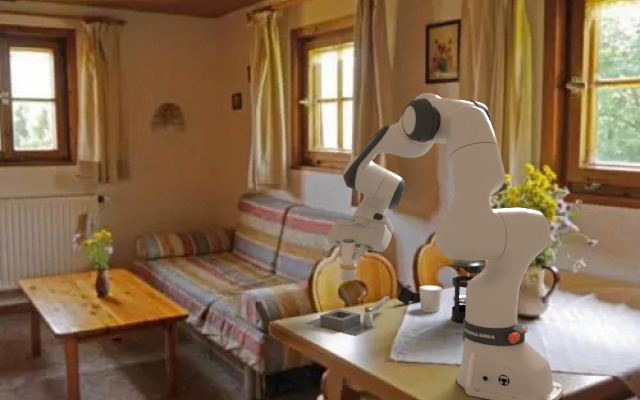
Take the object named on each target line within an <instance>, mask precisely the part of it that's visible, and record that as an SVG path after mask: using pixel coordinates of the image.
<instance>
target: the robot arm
mask: <svg viewBox="0 0 640 400" xmlns="http://www.w3.org/2000/svg"><path fill="white" fill-rule="evenodd" d="M434 144H443V145H447V148H448V149H447V150H448V156H449V160H450V165H451V170H452V175H453V176H452V177H453V183H454V195H453V201H452V203H451V204H450V207H449V208H448V211H447V212H446V213H445V214H443V216H442V217H441V218H440V220H439V221H438V222H437V225H436V229H435V234H434V235H435V236H434V237H435V243H436V245H437V247H438V250H439V251H440V253H441V254H442V255H443V256H444V257H445V258H447V259H450V260H454V261H458V260H463V261H487V262H486V264H485V265H484V266H485V267H483V271H482V272H480V273H477V275H475V276H473V277H474V278H472V279H471V280H470V281H469V283H468V285H467V288H466V289H465V295H466V304H465V305H466V315H465V318H464V321H463V324H462V339H463V349H462V358H461V363H460V367H459V371H458V374H457V377H456V382H457V384H458V385H459V386H461V388H463V389H464V392H465V394H466V395H468V396H470V397H475V398H481V399H486V400H560V399H561V398H562V396H563V395H564V387H563V386H562V384H561V383H559V382H556V381H554V380H553V374H552V367H551V365H550V363H549V361H548V360H547V359H546V358H545V357H544V356H542V354H540V353H539V352H538V351H537V350H536V349H535V348H534V347H533V346H531V345H530V344H529V343H528V341H526V338H525V337H526V334H527V333H528V332H529V330H528V329H529V327H528V326H525V327H524V328H523V327H522V326H521V324H520V322H519V321H518V305H519V296H520V295H519V294H520V289H521V284H522V281H523V278H524V275H525V274H526V272H527V270H528V269H529V267H530V266H531V263H533V261H534V260H535V259H536V258H537V256H538V255H540V254H541V253H542V252H543V251H544V250H545V249H546V248H547V246H548V245H549V242H550V237H551V228H550V225H549V221H548V220H547V218H546V216H545V215H544V214H543V213H542V212H541V211H539V210H536V209H535V210H534V209H530V208H526V207H525V208H523V207H504V208H502V207H501V208H492V207H491V204H490V203H491V202H490V197H491V196H493V195H494V194H495V193H496V192H498V191H499V190H500V189H501V188H502V187H503V185H504V183H505V180H506V172H505V167H504V164H503V159H502V155H501V151H500V148H499V143H498V140H497V137H496V133H495V131H494V128H493V126H492V116H491V113H490V111H489V108H488V107H487V106H486V104H484V103H481V102H479V101H475V100H465V99H463V100H462V99H456V98H455V99H454V98H453V99H452V98H449V97H440V96H439V95H438V94H435V93H431V92H424V93H421V94H419V95H417V96H416V97H415V98H414V99H413V100H410V101H409V102H408V103H407V105H406V106H405V107H404V110H403V113H402V115H401V117H400V118H399V121H398V122H396V123H394V124H391V125H384V126H382V127H380V129H379V130H378V131H377V132H376V133H374V135H373V136H372V137H371V139H370V140H369V141H367V143H366V145H364V147H363V148H362V149H361V150H360V151H359V153H357V155H355V157H354V158H352V159H351V160H350V161H349V162H348V164H347V165H346V167H345V168H344V171H343V175H342V176H343V177H342V178H343V180H344V184H345V185H346V187H347V188H350V189H352V190H354V191H357V192H359V193H360V194H363V199H362V201H361V202H360V203H359V204H358V206H357V207H356V209H355V211H354V213H353V215H352V216H351V218H349V217H342V218H340V219H338V220H337V221H336V222H335V223H334V224H333V226H332V227H331V228H330V229H329V232H328V233H327V234H326V238H327V241H328V242H329V243H330V245H334V246H338V252H337V254H336V255H337V257H338V258H341V259H342V241H343V240H344V239H354V241H355V249H358V250H357V251H355V252H354V253H353V255H352V258H353V260H356V261H357V262H358V261H359V260H360V258H361V257H362V256H363V255H365V254H366V253H367V252H368V251H372V252H373V251H374V252H380V253H382V252H384V251H385V250H387V248H388V247H389V244H390V242H391V239H392V237H393V236H392V234H393V233H394V231H395V227H394V225H393V224H392V222H391V220H390V219H389V218H388V217H387V212H388V211H389V210H392V209H395V208H396V207H398V205H399V203H400V201H401V198H402V196H403V195H404V194H405V192H406V189H407V187H406V181H405V180H404V179H403V178H402V177H401V176H400V175H398V174H397V173H395V172H393V171H390V170H388V169H387V168H385V167H383V166H381V165H380V164H378V163H376V162H374V161H373V160H374V159H375V158H376V156H377V155H379V154H390V155H394V156H398V157H401V158H406V159H415V158H419V157H422V156H424V155H425V154H427V153H428V152H429V150H431V148H432V147H433V146H434Z"/></svg>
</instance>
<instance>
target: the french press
mask: <svg viewBox="0 0 640 400" xmlns="http://www.w3.org/2000/svg"><path fill="white" fill-rule="evenodd" d="M452 265H453V270H456V269H460V268H461V269H463V270H464V272H466V273H467V275H460V276H459V275H458V276H454V277H453V278H452V279H451V281H452V283H451V284H452V285H453V286H454V296H453V297H452V298H453V301H454V306H452V307H451V316H450V320H451V321H452V322H454V323H457V324H461V325H463V321H464V318H465V315H466V294H460V293H461V288H467V285H468V283H469V281H470V280H471V279H472V278H474V277H475V276H471V275H470V274H472V275H473V274H480V273H481V272H482V271H483V269H484V266H485V263H484V262H483V261H481V260H477V261H463V260H454V261H453V262H452ZM462 281H464V282H462ZM465 281H467V282H465Z"/></svg>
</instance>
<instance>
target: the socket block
mask: <svg viewBox="0 0 640 400" xmlns="http://www.w3.org/2000/svg"><path fill="white" fill-rule="evenodd" d="M373 315H374V314H372V315H370V316H365V314H364V315H363V323H362V322H361V313H359V312H358V313H357V312H353V311H349V310H348V311H347V310H343V309H339V308H337V309H334V310H332V311H329V312H326V313H323V314H321V315H320V317H318V318H316V319H313V320H310V321H307V322H304V324H306V325H309V326H312V327H316V328H321V329H325V330H329V331H334V332H337V333H342V334H345V335H349V336H354V337H356V336H359V335H362V334H364V333H366V332H368V331H371V330H373V329H374V330H375V329H376V328H377V326H376V325H375V326H373V324H374V323H373V320H374V318H373Z"/></svg>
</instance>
